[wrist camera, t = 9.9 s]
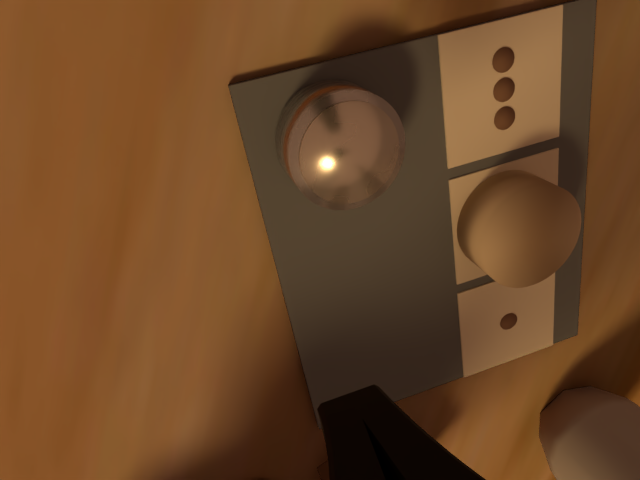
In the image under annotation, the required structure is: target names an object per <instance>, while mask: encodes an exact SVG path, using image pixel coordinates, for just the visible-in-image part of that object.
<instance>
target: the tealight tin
mask: <svg viewBox="0 0 640 480" xmlns="http://www.w3.org/2000/svg"><path fill="white" fill-rule="evenodd" d="M405 145H406V144H405V133H404V128H403V125H402V122H401V120H400V118H399V116H398V114H397V113H396V111H395V110H394V108H393V107H392V106H391V105H390V104H389V103H388V102H387V101H385V100H384V99H383V98H381V97H379V96H378V95H376V94H374V93H372V92H370V91H368V90H366V89H364V88H362V87H360V86H357V85H355V84H353V83H351V82H348V81H344V80H338V79H327V80H322V81H318V82H315V83H312V84H310V85H308V86H306V87H305V88H303V89H302V90H300V91H299V92H298V93H296V94H295V95H294V96H293V97H292V98H291V99H290V100H289V102H288V103H287V104H286V106H285V107H284V109H283V111H282V113H281V115H280V117H279V120H278V123H277V127H276V133H275V146H276V152H277V155H278V159H279V161H280V163H281V165H282V167H283V168H284V170H285V171H286V173H287V174H288V175H289V177H290V178H291V179H292V181H293V182H294V183H295V185H296V186H297V187H298V189H299V190H300V191H301V192H302V194H303V195H304V196H305V197H306V198H308V199H309V200H310V201H311V202H313V203H315V204H316V205H319V206H321V207H323V208H327V209H331V210H350V209H355V208H358V207H361V206H364V205H366V204H368V203H370V202H372V201H373V200H375V199H376V198H378V197H379V196H380V195H381V194H382V193H384V192H385V191H386V189H387V188H388V187H389V186H390V185H391V184H392V182H393V181H394V179H395V178H396V176H397V174H398V172H399V170H400V168H401V165H402V162H403V159H404V154H405Z"/></svg>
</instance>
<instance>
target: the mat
mask: <svg viewBox="0 0 640 480" xmlns="http://www.w3.org/2000/svg"><path fill="white" fill-rule="evenodd" d="M596 2H597V0H573V1H569V2H565V3H561V4H557V5H553V6H549V7H544V8H540V9H536V10H532V11H528V12H524V13H520V14H516V15H512V16H508V17H503V18H499V19H495V20H491V21H487V22H483V23H479V24H475V25H471V26H467V27H462V28H458V29H454V30H450V31H446V32H442V33H438V34H434V35H430V36H426V37H421V38H417V39H413V40H409V41H405V42H401V43H397V44H393V45H389V46H385V47H381V48H376V49H372V50H368V51H364V52H360V53H356V54H352V55H348V56H344V57H340V58H335V59H331V60H327V61H323V62H319V63H315V64H311V65H307V66H303V67H299V68H294V69H290V70H286V71H282V72H278V73H274V74H270V75H266V76H262V77H258V78H253V79H249V80H245V81H241V82H237V83H233V84H229V85H228V87H229V90H230V94H231V98H232V102H233V106H234V109H235V113H236V117H237V121H238V125H239V128H240V132H241V136H242V140H243V144H244V147H245V151H246V155H247V159H248V163H249V166H250V170H251V174H252V178H253V181H254V185H255V189H256V193H257V197H258V200H259V204H260V208H261V212H262V216H263V219H264V223H265V227H266V231H267V235H268V238H269V242H270V246H271V250H272V253H273V257H274V261H275V265H276V269H277V272H278V276H279V280H280V284H281V288H282V291H283V295H284V299H285V303H286V307H287V310H288V314H289V318H290V322H291V325H292V329H293V333H294V337H295V341H296V344H297V348H298V352H299V356H300V360H301V363H302V367H303V371H304V375H305V379H306V382H307V386H308V390H309V394H310V397H311V401H312V405H313V409H314V413H315V416H316V420H317V424H318V427H319V429H322V426H321V422H320V419H319V415H318V411H317V408H318V407H319V405H320V404H321V403H323V402H326V401H329V400H332V399H334V398H337V397H340V396H343V395H346V394H348V393H351V392H354V391H357V390H360V389H362V388H365V387H368V386H371V385H377V386H379V387H380V388H381V389H382V390H383V391H384V392H385V394H386V395H387V396H388V397H389V398H390V399H391V400H392V401H393V402H395V401H398V400H401V399H404V398H406V397H409V396H412V395H415V394H417V393H420V392H423V391H425V390H428V389H431V388H434V387H436V386H439V385H442V384H445V383H447V382H450V381H453V380H456V379H458V378H461V377H464V378H465V377H467V376H470V375H473V374H476V373H478V372H481V371H484V370H487V369H489V368H492V367H495V366H497V365H500V364H503V363H506V362H508V361H511V360H514V359H517V358H519V357H522V356H525V355H527V354H530V353H533V352H536V351H538V350H541V349H544V348H547V347H549V346H552V345H553V344H554V343H557V342H559V341H562V340H565V339H568V338H570V337H573V336H576V335H577V334H578V317H579V299H580V282H581V264H582V247H583V229H584V212H585V194H586V177H587V159H588V142H589V124H590V107H591V89H592V72H593V54H594V37H595V19H596ZM327 79H338V80H344V81H348V82H351V83H353V84H355V85H357V86H360V87H362V88H364V89H366V90H368V91H370V92H372V93H374V94H376V95H378V96H379V97H381V98H383V99H384V100H385V101H387V102H388V103H389V104H390V105H391V106H392V107H393V108H394V110H395V111H396V113H397V114H398V116H399V118H400V120H401V122H402V125H403V128H404V133H405V144H406V145H405V154H404V159H403V162H402V165H401V168H400V170H399V172H398V174H397V176H396V178H395V179H394V181H393V182H392V184H391V185H390V186H389V187H388V188H387V189H386V191H385V192H384V193H382V194H381V195H380V196H379V197H378V198H376V199H375V200H373V201H372V202H370V203H368V204H366V205H364V206H361V207H358V208H355V209H350V210H331V209H327V208H323V207H321V206H319V205H316V204H315V203H313V202H311V201H310V200H309V199H308V198H306V197H305V196H304V195H303V194H302V192H301V191H300V190H299V189H298V187H297V186H296V185H295V183H294V182H293V181H292V179H291V178H290V177H289V175H288V174H287V173H286V171H285V170H284V168H283V167H282V165H281V163H280V161H279V159H278V155H277V152H276V146H275V133H276V127H277V123H278V120H279V117H280V115H281V113H282V111H283V109H284V107H285V106H286V104H287V103H288V102H289V100H290V99H291V98H292V97H293V96H294V95H295V94H296V93H298V92H299V91H300V90H302V89H303V88H305V87H306V86H308V85H310V84H312V83H315V82H318V81H322V80H327ZM508 170H522V171H526V172H529V173H531V174H533V175H536V176H538V177H540V178H542V179H544V180H546V181H548V182H551V183H553V184H555V185H557V186H559V187H561V188H563V189H565V190H567V191H568V192H569V193H571V194H572V195H573V196H574V198H575V199H576V201H577V203H578V205H579V208H580V211H581V230H580V235H579V238H578V241H577V243H576V245H575V248H574V249H573V251H572V253H571V255H570V256H569V257H568V259H567V260H566V261H565V263H564V264H563V265H562V266H561V267H560V268H559V269H558V270H557V271H556V272H555V273H553V274H552V275H551V276H549V277H548V278H546V279H545V280H543V281H541V282H539V283H537V284H534V285H531V286H528V287H523V288H511V287H506V286H503V285H501V284H499V283H497V282H496V281H495V280H493V279H492V278H491V277H490V276H489V275H487V274H486V273H485V272H484V271H483V270H481V269H480V268H479V267H478V266H477V265H475V264H474V263H473V262H472V261H471V260H469V259H468V258H467V257H466V256H465V255H464V253H463V252H462V250H461V248H460V246H459V243H458V239H457V223H458V218H459V215H460V212H461V209H462V207H463V205H464V203H465V202H466V200H467V198H468V197H469V196H470V194H471V193H472V192H473V191H474V190H475V189H476V188H477V187H478V186H479V185H480V184H481V183H482V182H484V181H485V180H486V179H488V178H490V177H491V176H493V175H495V174H498V173H500V172H504V171H508Z"/></svg>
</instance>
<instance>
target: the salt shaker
mask: <svg viewBox="0 0 640 480" xmlns="http://www.w3.org/2000/svg"><path fill="white" fill-rule="evenodd" d="M539 438H540V441H541V444H542V447H543V449H544V452H545V455H546V458H547V461H548V464H549V467H550V470H551V472H552V473H553V475H554V476H555V478H556V479H557V480H640V407H639V406H638V405H637V404H635V403H634V402H632V401H630V400H629V399H627V398H625V397H622V396H619V395H616V394H613V393H610V392H607V391H604V390H601V389H598V388H595V387H592V386H588V387H581V388H575V389H569V390H564V391H563V392H561V393H560V394H559V395H558V396H557V397H556V398H555V399H554V400H553V401H552V402H551V403H550V404H549V405H548V406H547V407H546V408H545V409H544V410H543V411H542V412H541V413H540V427H539Z"/></svg>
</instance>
